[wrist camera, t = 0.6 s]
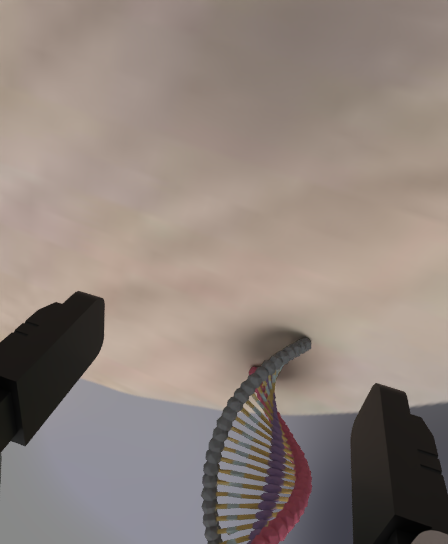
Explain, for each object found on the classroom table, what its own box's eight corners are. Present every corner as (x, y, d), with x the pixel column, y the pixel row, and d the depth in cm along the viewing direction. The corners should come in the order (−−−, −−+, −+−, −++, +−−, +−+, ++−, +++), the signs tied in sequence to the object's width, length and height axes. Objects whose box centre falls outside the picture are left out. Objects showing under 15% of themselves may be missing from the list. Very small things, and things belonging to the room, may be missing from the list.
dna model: (222, 347, 44) (79, 757, 21) (278, 310, 39) (170, 800, 16) (280, 392, 46) (207, 812, 23) (340, 362, 41) (325, 866, 18)
